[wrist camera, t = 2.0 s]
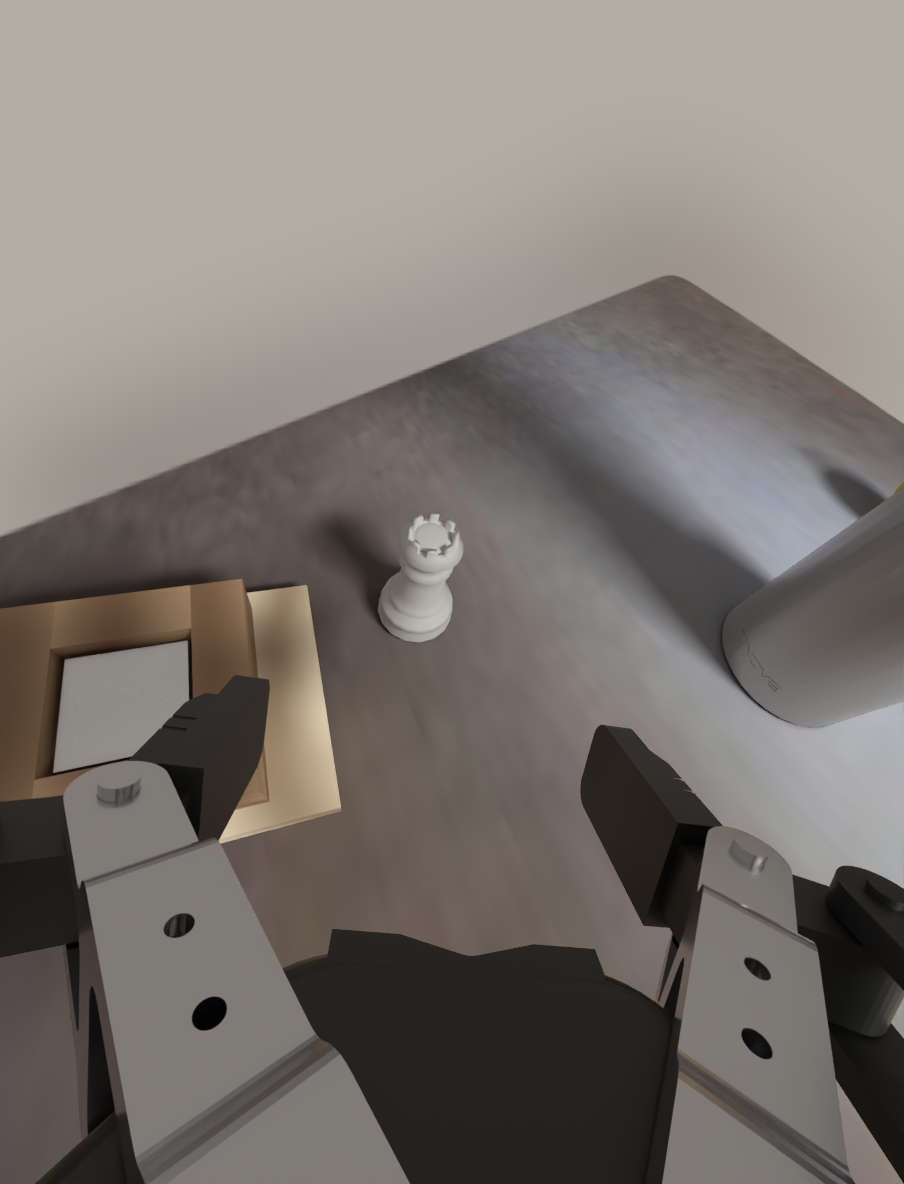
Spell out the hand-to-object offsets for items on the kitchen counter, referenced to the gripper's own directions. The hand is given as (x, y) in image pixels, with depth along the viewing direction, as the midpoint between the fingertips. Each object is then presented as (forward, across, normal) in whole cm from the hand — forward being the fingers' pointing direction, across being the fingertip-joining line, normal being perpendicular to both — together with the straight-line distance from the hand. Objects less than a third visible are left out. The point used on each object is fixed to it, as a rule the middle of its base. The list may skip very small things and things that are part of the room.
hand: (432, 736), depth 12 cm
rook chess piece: (+18, 0, +2) cm, 18 cm away
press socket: (+12, +12, +8) cm, 19 cm away
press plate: (+10, +12, +6) cm, 17 cm away
